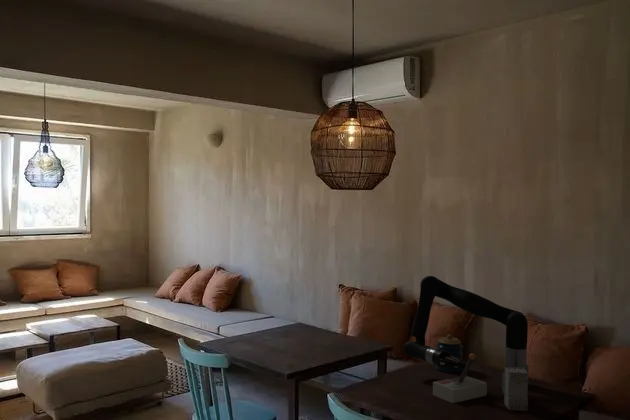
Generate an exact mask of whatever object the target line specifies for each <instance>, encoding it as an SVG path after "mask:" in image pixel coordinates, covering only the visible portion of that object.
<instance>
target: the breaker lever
mask: <svg viewBox="0 0 630 420" xmlns="http://www.w3.org/2000/svg"><path fill="white" fill-rule="evenodd" d="M476 357H477V356H476V354H475V353H470V354H469V356H468V359H467V362H465V363H466V365H465V368H464V369H462V371H461V374H460V376H459V377H460V378H459V380H458V381H459V382H460V383H462V382H463V380H464V378H465V376H467V374H468V372H469V371H470V368H471V366H472V364H473V362H474V360H475V359H476Z"/></svg>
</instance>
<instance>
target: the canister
mask: <svg viewBox="0 0 630 420" xmlns="http://www.w3.org/2000/svg"><path fill="white" fill-rule="evenodd" d="M437 342H438V343H437V344H435V346H436V348H438V349H441V350H444V351H447V352H448V353H449V354H450V356H453V357H455V358H459V357H462V358H463V351H462V349H463V348H464V347H463V344H461V343H462V341H461V340H460V339H459V338H457V337H453V335H452V334H451V333H449V334H447V335H446V336H443V337H440V338H439V339H438V340H437ZM435 367H436V370H438V371H439V372H443V373H451V374H453V373H454V374H456V373H460V372H463V369H462V368H459V367H453V368H452V367H445V368H442V367H439V366H436V365H435Z"/></svg>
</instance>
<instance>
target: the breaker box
mask: <svg viewBox="0 0 630 420" xmlns="http://www.w3.org/2000/svg"><path fill="white" fill-rule="evenodd" d="M459 378H460V376H458V377H453V378H447V379H442V380H437V381H432V395H433V396H434V397H437V398H439V399H442V400H443V401H444V400H445V401H447V402H449V403H452V404H456V403H460V402H464V401H469V400H473V399H477V398H482V397H486V395H487V394H488V393H487V392H488V390H487V388H488V383H487V382H485V381H483V380H479V379H477V378H475V377H471V376H468V375H466V376H465V378H464V380H463V382H462V383H460V382H459V381H458V380H459Z"/></svg>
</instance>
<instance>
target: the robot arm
mask: <svg viewBox="0 0 630 420" xmlns="http://www.w3.org/2000/svg"><path fill="white" fill-rule="evenodd" d="M419 292H420V293H419V298H418V304H417V308H416V312H415V315H414V318H413V322H412V326H411V329H410V334H411V336H412V337H413V338H415V340H414V341H411V340H409V341H406V342H405V343H404V344H403V346H402V351H403V353H404V355H405V356H407V357H410V358H414V359H419V360H421V361H424V362H426V363H428V364H430V365H433V366H435V367H436V366H439V367H442V368H445V367H452V368H453V367H459V368H462V370H464V368H465V365H466V363H467V362H464V359H463V356H462V357H459V358H455V357H453V356H450V354H449V353H448V352H447V351H444V350H441V349H438V348H437V347H432V346H429V345H426V333H427V330H428V326H429V322H430V321H429V320H430V314H431V310H432V307H433V304H434V299H435V298H440V299H442V300H444V301H447V302H449V303H450V304H451V305H454V306H455V307H457V308H459V309H461V310H462V311H464V312H467V313H469V314H471V315H474V316H478V317H480V318H484V319H485V318H486V319H490V320H493V321H496V322H499V323H500V324H502V325H504V326H505V360H504V361H505V363H504V364H505V365H504V368H505V367H520V368H524V369H525V370H526V371H527V372H528V373H529V365H528V364H527V363H528V362H527V361H528V359H527V358H528V335H529V334H528V331H529V330H528V329H529V328H528V327H529V326H528V324H529V323H528V318H527V317H526V315H525V314H524V313H523V312H520V311H518V310H514V309H511V308H507V307H504V306H503V305H500V304H497V303H495V302H494V301H492V300H490V299H487V298H485V297H483V296H482V295H479V294H477V293H473V292H471V291H469V290H466V289H463V288H459V287H456V286H452V285H451V284H449V283H447V282H445V281H442V280H441V279H439V278H438V277H436V276H434V275H428V276H425V277H423V278H422V279H421V281H420V291H419Z"/></svg>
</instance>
